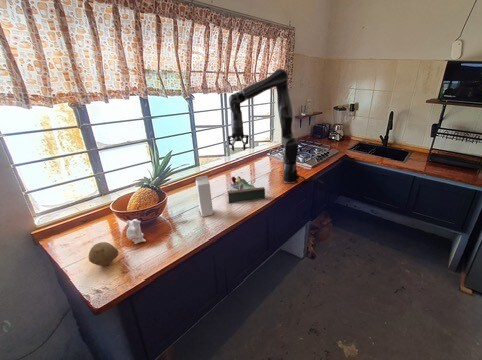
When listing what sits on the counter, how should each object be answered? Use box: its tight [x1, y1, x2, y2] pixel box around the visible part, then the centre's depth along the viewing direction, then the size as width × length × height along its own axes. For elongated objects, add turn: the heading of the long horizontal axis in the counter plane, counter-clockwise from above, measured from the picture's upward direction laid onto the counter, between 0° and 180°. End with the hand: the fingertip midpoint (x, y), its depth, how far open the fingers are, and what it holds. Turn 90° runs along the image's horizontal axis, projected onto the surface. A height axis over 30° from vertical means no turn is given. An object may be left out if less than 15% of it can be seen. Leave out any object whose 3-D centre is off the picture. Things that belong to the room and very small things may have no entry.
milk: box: [195, 175, 214, 218], centre depth 131 cm, size 6×6×22 cm
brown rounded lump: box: [88, 241, 119, 267], centre depth 97 cm, size 9×9×10 cm
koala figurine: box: [125, 218, 147, 245], centre depth 110 cm, size 8×7×12 cm
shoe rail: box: [227, 186, 266, 204], centre depth 150 cm, size 22×3×7 cm, turn 107°
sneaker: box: [230, 175, 256, 191], centre depth 159 cm, size 8×21×10 cm, turn 60°
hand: (238, 150), depth 167 cm, fingers open, 6 cm apart
